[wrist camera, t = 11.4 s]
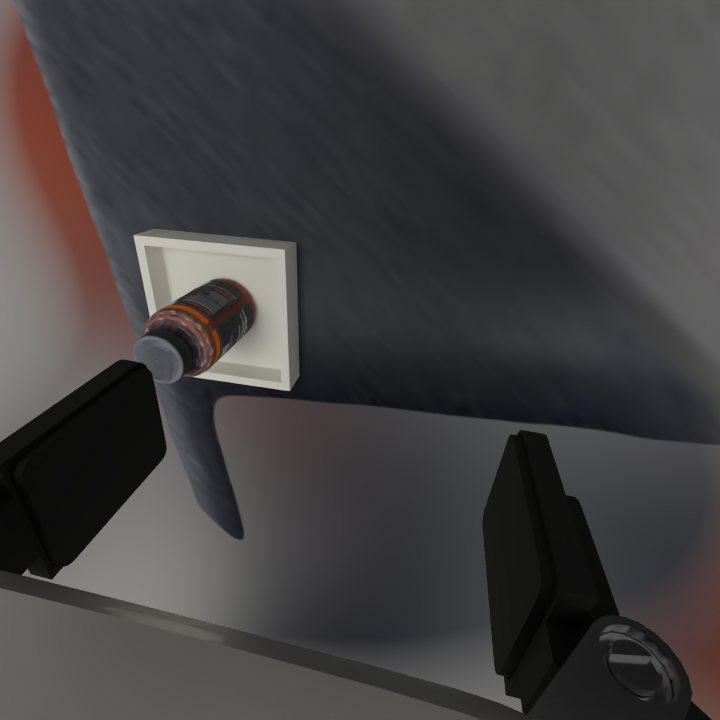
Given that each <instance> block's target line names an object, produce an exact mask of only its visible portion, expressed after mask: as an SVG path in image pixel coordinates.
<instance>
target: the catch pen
mask: <svg viewBox="0 0 720 720" xmlns="http://www.w3.org/2000/svg"><path fill="white" fill-rule="evenodd" d="M134 239H135V244H136V249H137V254H138V259H139V264H140V269H141V274H142V279H143V284H144V289H145V294H146V299H147V304H148V309H149V314H150V317H151V316H152V315H153V314H154V313H156V312H157V311H159V310H160V309H162V308H163V307H165V306H167V305H169V304H170V303H172V302H174V301H175V300H177V299H179V298H180V297H182V296H184V295H185V294H187V293H189V292H190V291H192V290H194V289H195V288H197V287H199V286H201V285H202V284H204V283H206V282H208V281H210V280H213V279H228V280H231V281H233V282H235V283H237V284H239V285H240V286H241V287H243V288H244V289H245V290H246V291H247V293H248V294H249V295H250V297H251V299H252V301H253V303H254V306H255V321H254V324H253V325H252V327H251V329H250V330H249V331H248V332H247V333H246V334H245V335H244V336H243V337H242V338H241V339H240V340H239V341H238V342H237V343H236V344H235V345H234V346H233V347H232V348H231V349H230V350H229V351H228V352H226V354H224V355H223V356H222V357H221V358H220V359H219V360H218V361H217V362H216V363H215V364H214V365H213V366H212V367H211V368H210V369H208V370H207V371H206V372H204V373H202V374H200V375H198V376H194V377H197V378H204V379H211V380H218V381H225V382H232V383H238V384H245V385H252V386H259V387H266V388H273V389H279V390H286V391H290V390H291V388H292V387H293V385H294V384H295V382H296V381H297V379H298V377H299V334H298V289H297V244H296V242H290V241H279V240H268V239H258V238H247V237H236V236H226V235H215V234H204V233H194V232H183V231H172V230H162V229H153V230H150V231H146V232H143V233H139V234H136V235H134Z"/></svg>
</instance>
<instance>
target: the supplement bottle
mask: <svg viewBox="0 0 720 720" xmlns="http://www.w3.org/2000/svg"><path fill="white" fill-rule="evenodd" d="M254 321H255V306H254V303H253V301H252V299H251V297H250V295H249V294H248V293H247V291H246V290H245V289H244V288H243V287H241V286H240V285H239V284H237V283H235V282H233V281H231V280H228V279H213V280H210V281H208V282H206V283H204V284H202V285H201V286H199V287H197V288H195V289H194V290H192V291H190V292H189V293H187V294H185V295H184V296H182V297H180V298H179V299H177V300H175V301H174V302H172V303H170V304H169V305H167V306H165V307H163V308H162V309H160V310H159V311H157V312H156V313H154V314H153V315H152V316H151V317H150V318H149V319H148V321H147V323H146V325H145V328H144V334H143V335H144V336H142V337H141V338H139V339H138V340H137V341H136V343H135V345H134V349H133V357H134V360H135V362H140V363H143V364H145V365H146V366H147V368H148V370H150V371H151V372H152V375H153V380H154V381H156V382H160V383H164V384H166V383H173V382H176V381H177V380H179V379H180V378H181V377H194V376H198V375H200V374H202V373H204V372H206V371H207V370H208V369H210V368H211V367H212V366H213V365H214V364H215V363H216V362H217V361H218V360H219V359H220V358H221V357H222V356H223V355H224V354H226V352H228V351H229V350H230V349H231V348H232V347H233V346H234V345H235V344H236V343H237V342H238V341H239V340H240V339H241V338H242V337H243V336H244V335H245V334H246V333H247V332H248V331H249V330H250V329H251V327H252V325H253V324H254Z"/></svg>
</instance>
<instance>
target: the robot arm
mask: <svg viewBox="0 0 720 720" xmlns="http://www.w3.org/2000/svg"><path fill="white" fill-rule="evenodd" d="M165 453H166V441H165V436H164V431H163V426H162V421H161V415H160V411H159V405H158V400H157V395H156V390H155V385H154V380H153V375H152V372H151V371H150V370H148V368H147V366H146V365H145V364H143V363H140V362H134V361H129V360H119V361H117V362H115V363H114V364H112V365H111V366H110V367H109V368H107V369H105V370H104V371H102V372H101V373H100V374H98V375H97V376H95V377H94V378H92V379H91V380H90V381H88V382H86V383H85V384H84V385H82V386H81V387H79V388H78V389H76V390H75V391H73V392H72V393H71V394H69V395H68V396H66V397H65V398H63V399H62V400H61V401H59V402H58V403H56V404H55V405H53V406H52V407H50V408H49V409H48V410H46V411H45V412H43V413H42V414H40V415H39V416H37V417H36V418H34V419H33V420H32V421H30V422H29V423H27V424H26V425H25V426H23V427H21V428H20V429H19V430H17V431H16V432H14V433H13V434H11V435H10V436H8V437H7V438H6V439H4V440H3V441H1V442H0V720H711V719H710V718H709V717H708V716H707V715H706V714H705V713H704V712H702V710H700V709H699V708H698V707H697V706H696V705H695V704H694V703H693V702H692V701H691V698H692V689H691V685H690V680H689V677H688V675H687V673H686V671H685V669H684V667H683V665H682V663H681V661H680V660H679V658H678V657H677V656H676V654H675V653H674V652H673V650H672V649H671V648H670V647H669V645H668V644H666V643H665V642H664V641H663V640H662V639H661V638H660V637H659V636H658V635H657V634H656V633H655V632H653V631H651V630H650V629H648V628H647V627H645V626H644V625H642V624H640V623H639V622H637V621H634V620H631V619H629V618H627V617H623V616H619V612H618V610H617V607H616V604H615V601H614V598H613V596H612V592H611V590H610V587H609V584H608V581H607V578H606V575H605V573H604V570H603V567H602V564H601V561H600V559H599V555H598V553H597V550H596V547H595V544H594V541H593V539H592V536H591V533H590V530H589V527H588V524H587V521H586V518H585V516H584V513H583V510H582V507H581V505H580V503H579V501H578V500H577V499H576V498H575V497H572V496H566V495H565V491H564V488H563V485H562V482H561V479H560V476H559V473H558V469H557V466H556V463H555V460H554V457H553V454H552V450H551V448H550V444H549V441H548V438H547V436H546V435H545V434H541V433H535V432H529V431H523V430H520V431H519V432H518V434H517V435H510V436H509V438H508V441H507V444H506V447H505V450H504V453H503V456H502V459H501V462H500V465H499V468H498V471H497V474H496V477H495V480H494V483H493V486H492V489H491V492H490V495H489V498H488V501H487V504H486V507H485V510H484V514H483V536H484V548H485V560H486V572H487V583H488V596H489V608H490V620H491V631H492V643H493V656H494V666H495V671H496V673H497V674H498V675H502V676H504V682H505V692H506V695H507V696H511V697H515V698H519V699H521V704H522V711H523V713H521V712H519V711H517V710H514V709H512V708H510V707H507V706H505V705H503V704H500V703H497V702H494V701H491V700H488V699H485V698H482V697H480V696H477V695H473V694H470V693H467V692H464V691H462V690H459V689H455V688H452V687H448V686H445V685H441V684H438V683H434V682H430V681H427V680H424V679H420V678H416V677H413V676H409V675H406V674H402V673H398V672H395V671H391V670H388V669H384V668H380V667H377V666H374V665H370V664H366V663H362V662H358V661H355V660H351V659H346V658H343V657H339V656H336V655H332V654H328V653H324V652H320V651H316V650H312V649H309V648H305V647H301V646H297V645H293V644H289V643H286V642H282V641H278V640H274V639H271V638H267V637H263V636H259V635H255V634H251V633H247V632H244V631H240V630H236V629H232V628H228V627H224V626H220V625H216V624H212V623H208V622H205V621H201V620H197V619H193V618H189V617H185V616H181V615H177V614H173V613H169V612H165V611H161V610H158V609H154V608H149V607H146V606H142V605H138V604H134V603H130V602H126V601H122V600H118V599H114V598H110V597H106V596H102V595H98V594H94V593H90V592H86V591H82V590H78V589H74V588H70V587H66V586H62V585H58V584H54V583H50V582H46V581H42V580H38V579H34V578H30V577H26V576H22V574H23V573H24V572H25V571H26V570H27V569H28V570H29V572H30V574H32V575H36V576H40V577H44V578H48V579H53V578H54V576H55V575H56V574H57V573H58V572H59V571H60V570H61V569H62V568H63V566H67V565H69V564H71V563H72V562H73V561H74V560H75V559H76V558H77V557H78V555H79V554H80V553H81V552H82V551H83V550H84V549H85V547H86V546H87V545H88V544H89V543H90V542H91V541H92V539H93V538H94V537H95V536H96V535H97V534H98V533H99V531H100V530H101V529H102V528H103V527H104V526H105V525H106V523H107V522H108V521H109V520H110V519H111V518H112V517H113V515H114V514H115V513H116V512H117V511H118V510H119V509H120V507H121V506H122V505H123V504H124V503H125V502H126V501H127V499H128V498H129V497H130V496H131V495H132V494H133V493H134V491H135V490H136V489H137V488H138V487H139V486H140V485H141V483H142V482H143V481H144V480H145V479H146V478H147V477H148V475H149V474H150V473H151V472H152V471H153V470H154V469H155V467H156V466H157V465H158V464H159V463H160V462H161V461H162V459H163V458H164V456H165Z"/></svg>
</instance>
